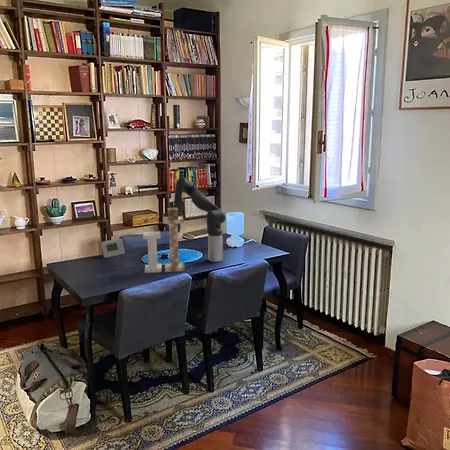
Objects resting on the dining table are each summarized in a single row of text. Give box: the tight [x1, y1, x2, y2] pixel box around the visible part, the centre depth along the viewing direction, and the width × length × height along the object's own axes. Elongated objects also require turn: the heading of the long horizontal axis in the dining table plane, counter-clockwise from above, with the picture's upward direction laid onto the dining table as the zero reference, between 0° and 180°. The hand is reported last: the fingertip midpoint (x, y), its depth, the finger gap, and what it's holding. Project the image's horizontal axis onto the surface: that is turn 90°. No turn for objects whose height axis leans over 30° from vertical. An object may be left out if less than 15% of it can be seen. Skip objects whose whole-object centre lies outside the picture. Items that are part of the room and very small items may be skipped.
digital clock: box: [100, 238, 126, 259], centre depth 314 cm, size 16×9×11 cm, turn 122°
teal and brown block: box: [167, 207, 178, 220], centre depth 284 cm, size 6×20×6 cm, turn 7°
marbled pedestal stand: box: [162, 215, 186, 273], centre depth 283 cm, size 12×10×32 cm
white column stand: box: [142, 231, 163, 274], centre depth 282 cm, size 10×10×23 cm
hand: (172, 211), depth 286 cm, fingers closed on teal and brown block, 2 cm apart
